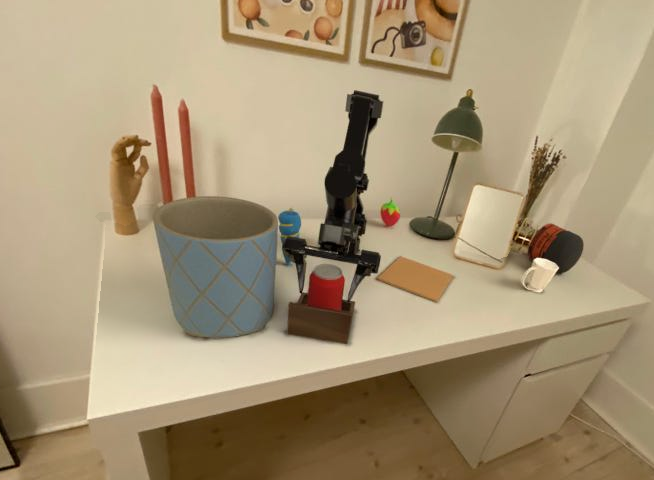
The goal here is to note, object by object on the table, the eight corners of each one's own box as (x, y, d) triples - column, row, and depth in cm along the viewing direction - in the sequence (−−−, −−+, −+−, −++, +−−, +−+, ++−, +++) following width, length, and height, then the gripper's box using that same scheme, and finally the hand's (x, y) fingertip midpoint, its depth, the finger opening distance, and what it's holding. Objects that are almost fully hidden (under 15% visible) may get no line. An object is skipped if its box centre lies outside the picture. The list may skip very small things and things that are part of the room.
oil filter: (544, 257, 129) (561, 221, 121) (575, 274, 121) (595, 237, 114) (521, 261, 122) (537, 224, 114) (552, 280, 114) (572, 241, 107)
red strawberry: (385, 231, 121) (391, 201, 116) (374, 222, 126) (379, 193, 121) (400, 231, 124) (406, 201, 119) (389, 222, 129) (395, 193, 124)
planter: (173, 289, 77) (158, 193, 66) (269, 285, 84) (270, 198, 73) (167, 349, 63) (145, 240, 52) (283, 339, 70) (286, 241, 59)
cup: (552, 294, 106) (564, 269, 102) (526, 297, 102) (538, 271, 97) (534, 281, 111) (546, 257, 107) (509, 283, 107) (520, 258, 102)
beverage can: (344, 318, 79) (351, 268, 72) (330, 336, 74) (336, 283, 67) (315, 308, 80) (320, 258, 74) (299, 324, 75) (303, 272, 68)
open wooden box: (301, 301, 81) (302, 273, 78) (353, 310, 82) (358, 283, 78) (287, 334, 72) (288, 304, 68) (347, 344, 73) (351, 315, 69)
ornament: (273, 264, 92) (274, 205, 84) (285, 257, 96) (287, 200, 88) (291, 271, 91) (293, 212, 83) (302, 263, 95) (306, 206, 87)
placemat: (377, 279, 95) (377, 277, 95) (400, 258, 108) (400, 256, 108) (436, 302, 91) (436, 300, 91) (452, 276, 104) (453, 274, 104)
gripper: (286, 193, 67) (267, 277, 64) (389, 213, 68) (375, 296, 65) (294, 220, 78) (278, 292, 75) (383, 236, 79) (371, 308, 76)
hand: (324, 297), depth 72 cm, fingers open, 9 cm apart
